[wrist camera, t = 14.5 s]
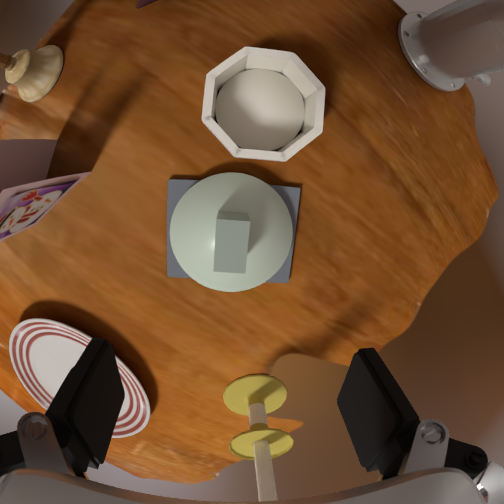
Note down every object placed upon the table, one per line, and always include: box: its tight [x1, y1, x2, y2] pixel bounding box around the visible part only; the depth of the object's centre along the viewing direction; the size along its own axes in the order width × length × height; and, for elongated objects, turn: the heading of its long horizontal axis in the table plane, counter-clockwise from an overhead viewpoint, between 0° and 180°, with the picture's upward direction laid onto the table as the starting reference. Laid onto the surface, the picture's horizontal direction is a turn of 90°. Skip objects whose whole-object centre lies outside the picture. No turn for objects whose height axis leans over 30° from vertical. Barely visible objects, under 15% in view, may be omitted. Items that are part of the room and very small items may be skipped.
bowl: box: [202, 47, 325, 162], centre depth 24 cm, size 11×11×5 cm
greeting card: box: [0, 139, 91, 242], centre depth 20 cm, size 11×7×15 cm, turn 119°
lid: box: [170, 172, 293, 292], centre depth 28 cm, size 13×13×5 cm
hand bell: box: [0, 45, 63, 102], centre depth 14 cm, size 8×8×16 cm
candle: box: [223, 374, 293, 501], centre depth 27 cm, size 10×10×27 cm
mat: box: [167, 179, 300, 283], centre depth 31 cm, size 14×11×1 cm
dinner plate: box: [9, 318, 150, 438], centre depth 35 cm, size 28×27×3 cm
